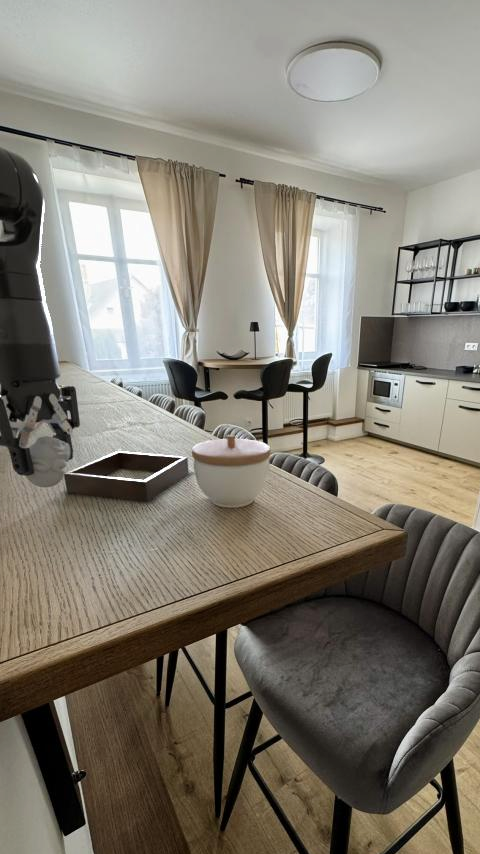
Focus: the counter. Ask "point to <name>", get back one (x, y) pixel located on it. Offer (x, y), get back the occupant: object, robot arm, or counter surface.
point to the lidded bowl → (231, 470)
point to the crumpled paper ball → (48, 461)
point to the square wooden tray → (98, 484)
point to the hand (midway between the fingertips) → (46, 466)
